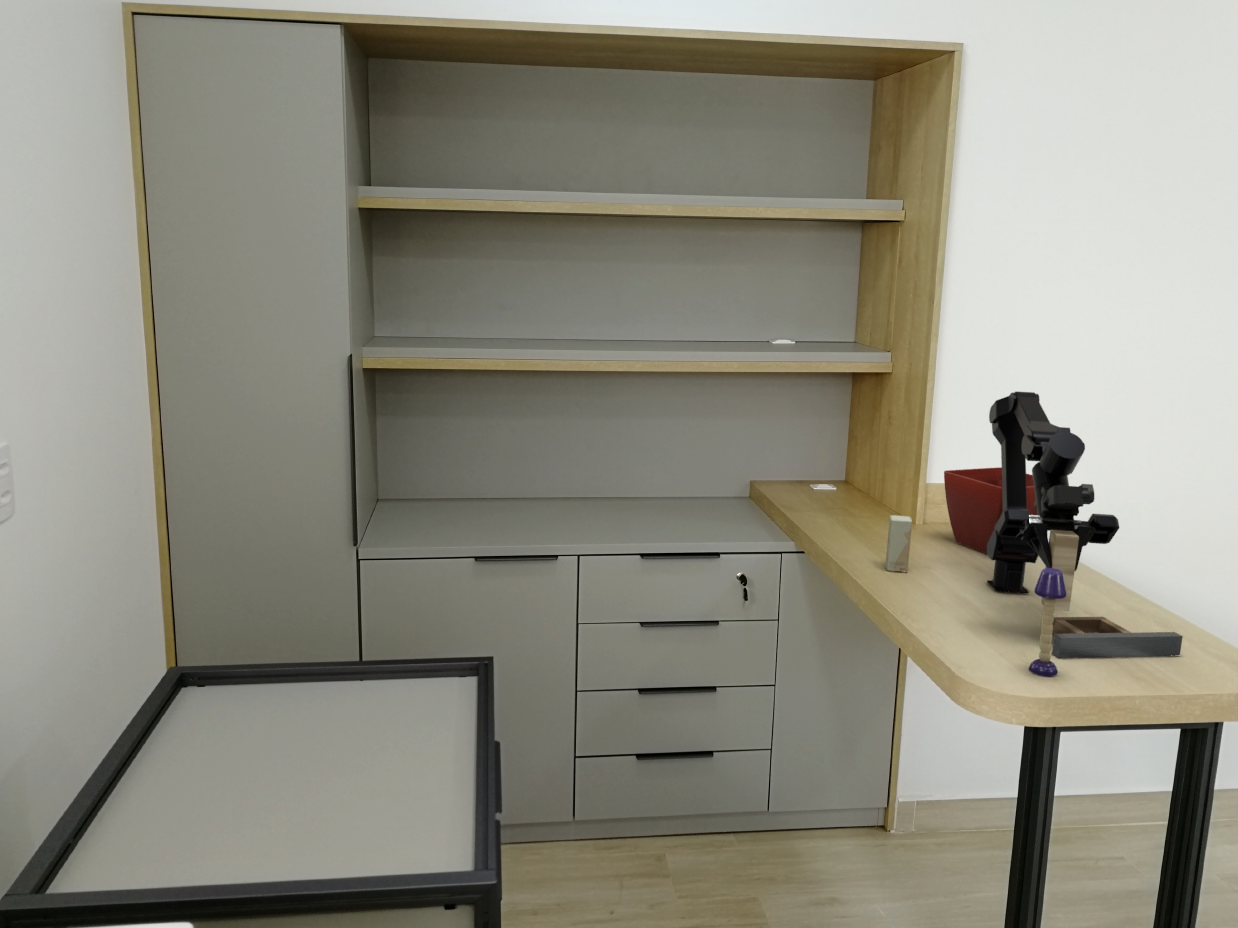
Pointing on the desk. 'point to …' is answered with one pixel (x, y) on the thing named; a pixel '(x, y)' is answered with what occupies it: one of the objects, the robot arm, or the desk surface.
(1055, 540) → the wooden square post
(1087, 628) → the collar
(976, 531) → the plant pot
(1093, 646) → the rail
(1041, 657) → the toy lamp
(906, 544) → the box
